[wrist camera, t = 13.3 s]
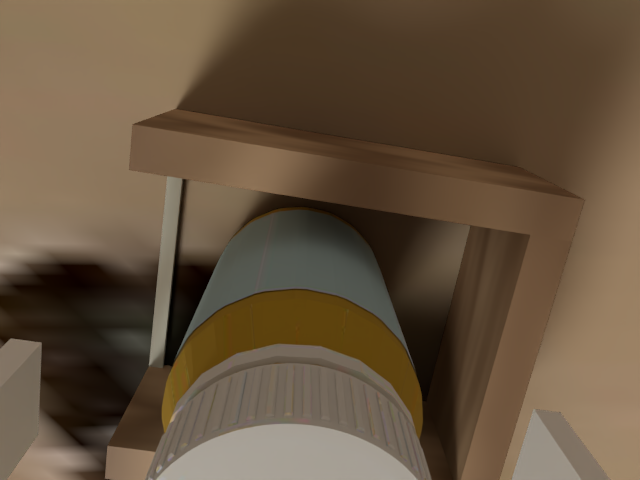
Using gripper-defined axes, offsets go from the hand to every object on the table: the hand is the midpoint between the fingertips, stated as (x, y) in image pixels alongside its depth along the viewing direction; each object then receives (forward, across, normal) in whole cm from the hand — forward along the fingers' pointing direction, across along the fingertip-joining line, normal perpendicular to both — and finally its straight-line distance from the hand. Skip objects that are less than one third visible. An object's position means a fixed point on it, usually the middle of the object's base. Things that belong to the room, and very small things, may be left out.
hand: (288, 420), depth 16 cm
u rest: (+10, +1, 0) cm, 10 cm away
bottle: (+11, 0, 0) cm, 11 cm away
